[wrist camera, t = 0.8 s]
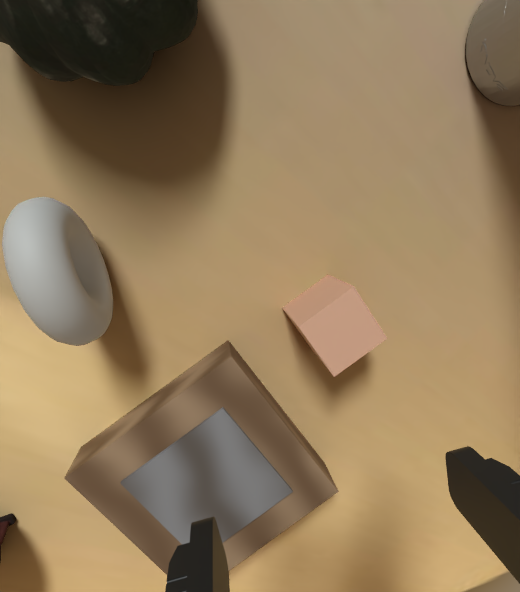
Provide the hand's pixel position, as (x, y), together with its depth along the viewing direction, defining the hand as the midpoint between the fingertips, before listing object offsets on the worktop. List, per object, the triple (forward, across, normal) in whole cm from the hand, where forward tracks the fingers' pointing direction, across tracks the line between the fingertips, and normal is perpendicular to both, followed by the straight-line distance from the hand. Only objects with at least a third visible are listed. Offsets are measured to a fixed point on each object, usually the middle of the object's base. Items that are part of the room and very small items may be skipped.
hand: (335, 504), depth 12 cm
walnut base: (+21, +7, +11) cm, 25 cm away
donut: (+21, +12, -8) cm, 26 cm away
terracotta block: (+21, -6, 0) cm, 22 cm away
